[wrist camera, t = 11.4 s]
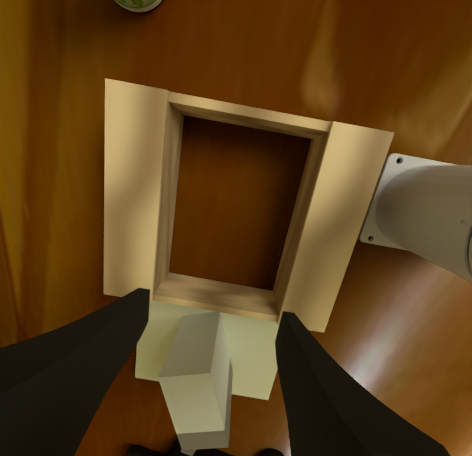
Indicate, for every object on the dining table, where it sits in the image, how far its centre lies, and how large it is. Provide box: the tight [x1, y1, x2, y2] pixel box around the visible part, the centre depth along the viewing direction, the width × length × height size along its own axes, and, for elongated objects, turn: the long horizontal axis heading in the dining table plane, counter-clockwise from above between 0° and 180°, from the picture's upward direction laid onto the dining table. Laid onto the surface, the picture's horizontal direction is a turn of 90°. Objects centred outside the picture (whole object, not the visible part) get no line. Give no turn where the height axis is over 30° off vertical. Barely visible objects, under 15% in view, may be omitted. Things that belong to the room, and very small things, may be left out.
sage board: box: [135, 300, 279, 400], centre depth 24 cm, size 16×12×1 cm
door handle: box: [125, 438, 284, 456], centre depth 29 cm, size 3×20×16 cm
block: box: [158, 312, 233, 450], centre depth 21 cm, size 4×8×7 cm, turn 9°
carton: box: [104, 78, 394, 333], centre depth 18 cm, size 19×16×4 cm
